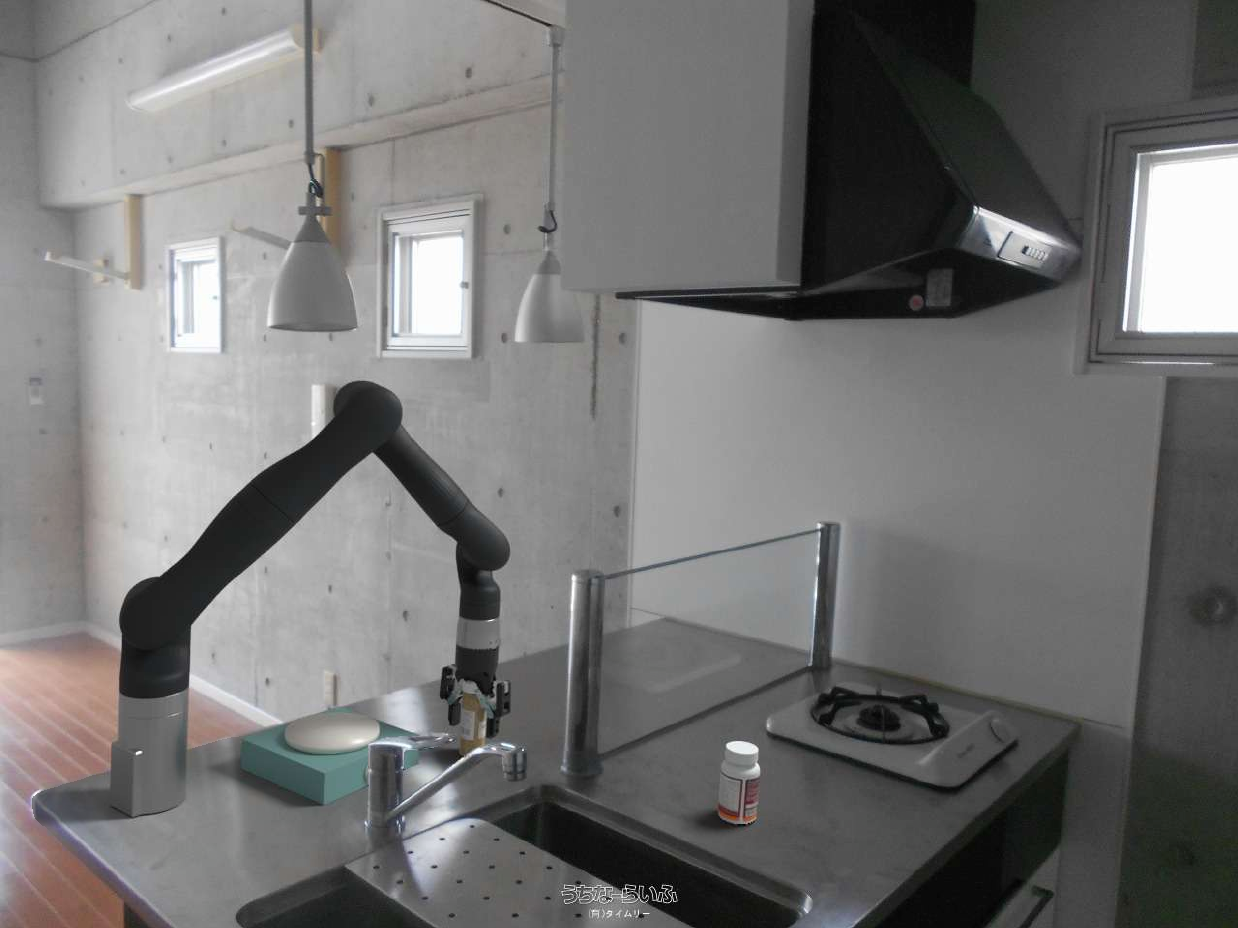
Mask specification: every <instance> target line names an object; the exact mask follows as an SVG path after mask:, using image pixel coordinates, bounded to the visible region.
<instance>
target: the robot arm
mask: <svg viewBox="0 0 1238 928" xmlns="http://www.w3.org/2000/svg"><path fill="white" fill-rule="evenodd" d="M332 410H333V416H334V417H333V418H332V419H331V420H329V422H328V423H327V424H326V425H325V426H324V427H323V428H322V430H320V432H319V433H317V434H316V436H314V438H312V439H311V440H310V441H309V442H308V443H306V444H305V445H303V446H301V448H299V449H297V450H295V451H294V452H291V453H290V454H288V455H287V456H285V457H283V458H281V459H279V460H277V461H276V462H274V463H272V464H271V465H269V466H268V467H267V468H266V467H265V469H264V470H262V471H261V472H259V473H258V474H257V475H256V476H255V477H253V478H252V479H251V480H250V481H249V482H248V483H247V484H246V485H245V486H243V487H242V488H241V490H239V491H238V492H237V493H236V494H235V495H234V496H233V497H232V498H231V499H230V500H229V501H228V502H227V503H226V504H225V505H224V507H222V508H221V510H220V511H218V513H217V515H216V516H215V517H214V518H213V519H212V520H211V522H210V523H209V524H208V526H207V527H206V528H205V530H204V531H203V532H202V533H201V535H200V536H199V538H198V539H197V540H196V541H195V543H194V544H193V545H192V546H191V548H190V549H189V550H188V551H187V552H186V553H185V554H184V555H183V556H182V557H181V558H180V559H179V560H178V561H176V563H174V564H173V565H172V566H170V567H169V568H168V569H166V571H164V572H163V573H162V574H161V575H160V576H152V577H151V576H150V577H147V578H145V579H142V580H141V581H139V582H137V583H136V584H135V585H133V586H132V587H131V588H130V589H129V590H128V591H127V593H126V594H125V596H124V598H123V602H122V604H121V607H120V611H119V614H118V615H119V616H118V625H119V629H120V633H121V646H120V647H121V651H120V663H119V672H118V673H119V676H118V712H117V715H118V716H117V717H118V718H117V740H114V741H112V743H111V745H110V781H109V782H110V789H109V793H110V794H109V805H110V806H111V807H113V808H115V809H117V810H118V811H121V812H123V813H124V814H126V815H128V816H130V817H132V818H134V817H137V816H141V815H149V814H156V813H160V812H164V811H168V810H170V809H173V808H174V807H177V806H179V805H180V804H181V803H183V801H185V799H186V797H187V772H188V771H187V769H188V768H187V767H188V765H187V764H188V739H189V738H188V737H189V736H188V735H189V734H188V732H189V704H190V702H189V701H190V699H189V697H190V674H191V673H190V672H191V643H192V641H191V639H192V638H191V637H192V625H193V624H194V623H195V622H196V621H197V619H198V618H199V616H201V615H202V614H203V612H204V611H205V610H206V609H207V607H208V606H210V605H211V603H212V602H213V601H214V599H216V597H217V596H218V595H219V594H220V593H221V592H222V591H223V590H224V589H226V587H227V586H228V585H229V584H230V583H232V581H234V580H235V579H236V578H237V577H239V576H240V575H241V574H243V572H245V571H246V570H247V569H249V568H250V567H251V566H252V565H253V564H254V563H256V562H257V561H258V560H259V559H260V558H262V557H263V555H264V554H266V553H267V552H268V551H269V550H270V549H272V547H273V546H275V545H276V544H277V543H278V542H279V541H280V540H282V539H283V537H285V535H287V534H288V533H289V532H290V531H291V530H292V529H293V528H294V527H295V526H296V525H297V524H298V523H299V522H300V521H301V520H302V519H303V518H304V516H306V515H307V514H308V512H310V511H311V510H312V508H314V507H315V506H316V505H317V504H318V503H319V502H320V501H321V500H322V499H323V498H324V497H325V496H326V495H327V494H328V492H330V491H331V490H332V488H333V487H334V486H335V485H336V484H338V482H339V481H341V479H342V478H343V477H344V476H345V475H346V474H348V473H349V472H350V471H351V470H352V469H353V468H355V467H356V466H357V465H358V464H360V463H361V462H362V461H363V460H364V459H366V458H367V457H368V456H369V455H371V454H373V455H375V456H376V457H377V458H378V459H379V460H380V461H381V462H382V463H383V464H384V465H385V466H386V467H387V469H388V470H389V471H390V472H391V473H392V474H393V476H394V477H395V478H396V479H397V480H398V482H399V483H400V484H401V485H402V487H404V489H405V490H406V491H407V493H408V494H409V495H410V496H411V498H412V499H413V500H414V501H415V503H416V504H417V505H418V506H419V507H420V509H421V510H422V511H423V512H424V513H425V514H426V516H428V518H429V519H430V520H431V522H433V523H434V525H435V526H436V527H437V528H438V529H439V530H440V531H441V532H443V533H444V534H446V535H447V536H449V537H451V538H452V539H453V540H454V541H455V542H456V546H455V563H456V571H457V578H458V583H459V588H460V595H459V605H458V606H459V608H458V610H459V611H458V619H457V625H456V636H455V651H454V652H455V656H454V663H451V664H449V665H445V666H443V667H442V670H441V678H440V687H439V688H440V689H439V698H440V699H441V700H444V701H446V704H447V705H448V707H447V708H448V710H447V719H448V720H447V721H448V724H449V726H451V727H455V726H457V725H459V724H461V711H462V703H461V701H462V700H463V692H462V691H463V690H462V688H463V682H465V681H467V680H469V681H473V682H472V684H473V691H474V692H475V693H476V695H477V698H478V700H479V702H480V704H481V706H482V707H484V708H485V710H486V716H488V717H486V728H485V739H486V738H487V739H489V740H492V739H494V738H496V737H497V735H499V733H500V722H501V721H500V720H501V718H503V717H504V716H506V715H509V714H511V708H512V707H511V706H512V704H511V703H512V700H511V699H512V698H511V697H512V696H511V695H512V693H511V692H512V691H511V690H512V688H511V687H512V682H511V680H509V679H506V680H500V679H498V678H497V673H496V672H497V670H498V666H499V659H500V658H499V657H500V644H501V643H500V640H501V639H500V638H501V621H500V620H501V619H500V616H501V615H500V614H501V600H502V599H501V597H502V596H501V593H502V592H501V588H500V586H499V585H498V583H497V582H496V580H495V579H494V576H493V572H494V571H499V570H501V569H502V568H503V567H505V566H506V565H507V564H508V561H509V559H510V558H511V557H510V556H511V547H510V546H511V545H510V543H509V540H508V539H507V537H506V535H505V534H504V532H503V531H501V529H500V528H499V527H498V526H497V525H496V524H495V523H494V522H493V521H492V520H491V519H490V518H488V517H487V516H486V515H485V514H484V513H483V512H482V511H480V510H479V509H478V508H477V507H476V505H474V504H473V502H472V501H471V499H469V497H468V496H467V495H466V494H465V492H464V491H463V490H462V489H461V487H460V486H459V485H458V484H457V482H455V480H454V479H453V478H452V477H451V476H450V475H449V474H448V472H446V471H445V470H444V468H442V467H441V465H440V464H438V463H437V462H436V461H435V460H434V459H433V458H432V457H431V456H430V455H429V454H428V453H427V452H426V451H425V450H424V449H423V448H422V447H421V446H420V445H419V444H418V443H417V441H416V440H414V438H413V437H412V436H411V434H410V433H409V432H408V430H406V428H405V427H404V426H403V424H402V421H403V416H404V415H403V414H404V413H403V411H404V410H403V405H402V403H401V400H400V398H399V397H398V396H397V395H396V394H395V392H393V391H392V390H391V389H389V388H387V387H385V386H382V385H380V384H378V383H377V382H376V383H375V382H374V381H370V380H353V381H351V382H350V381H349V382H348V383H346V384H344V385H343V386H342V387H341V388H340V389H339V390H338V391H337V393H336V395H335V396H334V399H333V405H332ZM456 682H457V684H456ZM455 684H456V685H455ZM486 697H487V698H488V697H489V699H486Z"/></svg>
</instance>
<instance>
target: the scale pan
mask: <svg viewBox="0 0 1238 928" xmlns="http://www.w3.org/2000/svg"><path fill="white" fill-rule="evenodd" d="M360 714H361V713H359V714H355V713H344V712H334V713H322V714H318V713H315V714H312V715H311V714H310V715H308V716H304V717H301V718H298V719H296V720H294V721H291V722H292V723H291V722H290V723H291V724H289V725H288V726H287V728H286V729H285V742H286V744H287V745H288V746H290V747H291V748H293V749H295V750H298V751H301V752H305V753H312V754H340V753H347V752H352V751H356V750H360V749H363V748H365V747H367V746H368V744H369V743H370V742H373V741H375V740H377V739H378V738H379V734H380V726H379V723H378V722H377V721H375V720H374V719H375V718H373V717H371V718H370V716H367V715H365V714H362V715H360ZM364 715H365V716H364ZM372 718H373V719H372Z"/></svg>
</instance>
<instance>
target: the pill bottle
mask: <svg viewBox="0 0 1238 928" xmlns="http://www.w3.org/2000/svg"><path fill="white" fill-rule="evenodd" d="M724 752H725V753H724V758H725V759H724V760H723V761H722V762H721V765H720V775H719V777H720V779H719V789H718V790H719V791H718V803H717V814H718V816H719V818H721V819H722V820H723V821H724V820H725V821H724V822H726V821H727V823H729V822H730V823H729V824H732V823H733V825H737V824H746V825H749V824H748V823H750V824H752V823H754V822H755V821H756V819H757V816H758V806H759V796H760V795H759V793H760V781H761V780H760V779H761V767H760V765H759V763H758V761H759V748H758V746H756V744H753V743H751V742H747V741H740V740H739V741H738V740H736V741H730V742H728V743H726V745H725V750H724ZM754 820H755V821H754ZM753 821H754V822H753ZM751 822H752V823H751Z"/></svg>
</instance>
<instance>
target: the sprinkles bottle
mask: <svg viewBox="0 0 1238 928" xmlns="http://www.w3.org/2000/svg"><path fill="white" fill-rule="evenodd" d="M472 682H473V681H469V680H467V681H465V682H463V688H462V690H463V691H462V692H463V699H462V700H461V701H462V703H461V719H460V734H459V735H460V743H459V746H460V747H459V750H458V753H459V755H460V756H462V757H464V755H466V754H467V753H468V752H470V751H472V749H474V748H477V747H479V746H483V745H484V746H485V741H486V740H485V739H486V727H487V712H486V710H485V708H484V707H482V706H481V704H480V702H479V700H478V698H477V695H476V693H475V692H474V691H473V684H472ZM487 698H488V697H486V699H487ZM487 700H488V699H487Z"/></svg>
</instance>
